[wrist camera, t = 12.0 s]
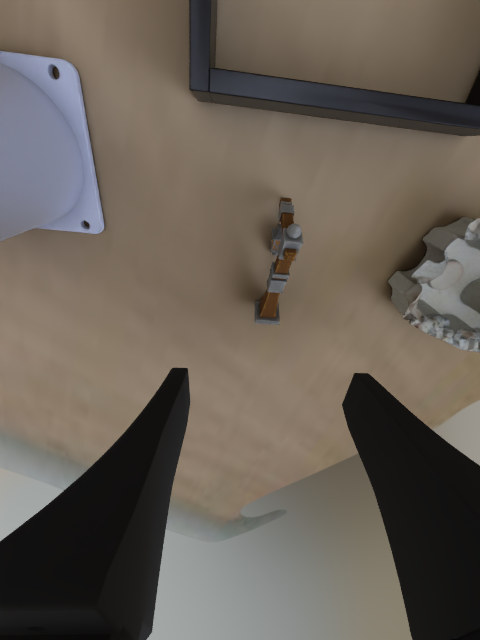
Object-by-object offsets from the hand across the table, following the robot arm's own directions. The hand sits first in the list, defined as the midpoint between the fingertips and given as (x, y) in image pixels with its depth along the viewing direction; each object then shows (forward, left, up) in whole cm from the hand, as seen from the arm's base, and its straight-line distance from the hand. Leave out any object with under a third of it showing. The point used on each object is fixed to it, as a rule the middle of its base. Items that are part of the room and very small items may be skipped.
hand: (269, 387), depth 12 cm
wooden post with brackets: (+1, +2, -10) cm, 10 cm away
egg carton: (+15, +2, -10) cm, 18 cm away
